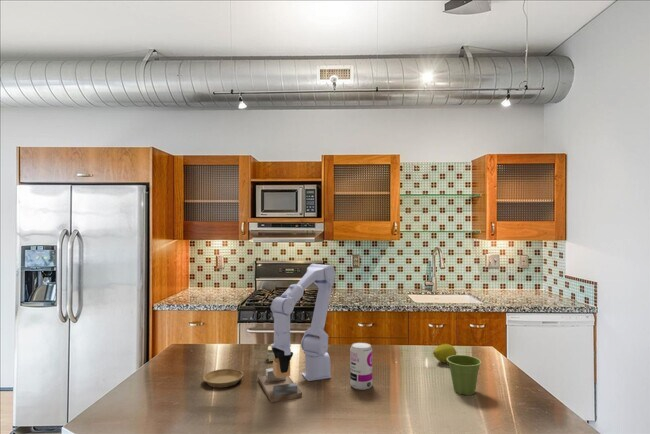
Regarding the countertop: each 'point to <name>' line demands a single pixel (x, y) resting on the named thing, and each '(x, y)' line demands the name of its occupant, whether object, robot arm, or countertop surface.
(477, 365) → the plant pot
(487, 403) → the countertop surface
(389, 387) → the countertop surface
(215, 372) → the plant saucer
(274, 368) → the light brown cube
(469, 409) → the countertop surface
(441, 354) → the lemon
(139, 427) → the countertop surface
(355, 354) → the supplement can
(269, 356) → the stacked layers on plate
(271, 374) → the grey rectangular block
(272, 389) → the flat wooden platform
